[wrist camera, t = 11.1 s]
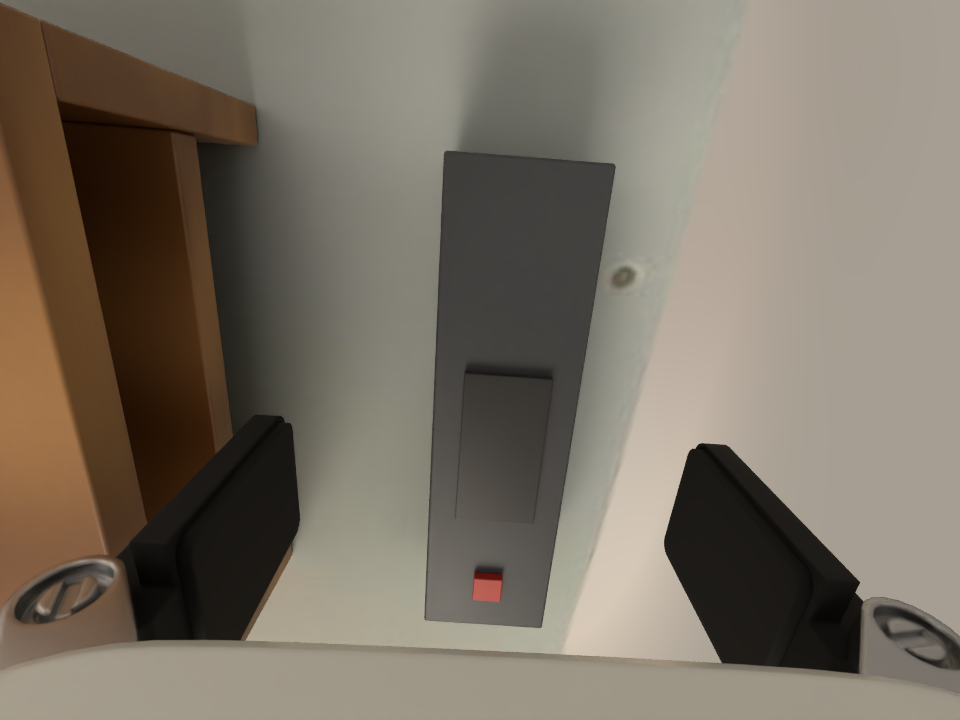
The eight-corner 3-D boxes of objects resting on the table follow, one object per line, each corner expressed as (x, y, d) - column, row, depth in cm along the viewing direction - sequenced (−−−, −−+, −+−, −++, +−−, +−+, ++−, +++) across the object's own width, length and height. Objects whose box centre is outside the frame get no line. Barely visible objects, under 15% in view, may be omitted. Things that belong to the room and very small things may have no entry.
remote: (453, 161, 15) (443, 148, 11) (587, 171, 15) (620, 162, 11) (434, 550, 20) (423, 628, 16) (532, 557, 20) (542, 636, 16)
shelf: (-31, 81, 14) (-703, -71, 6) (255, 105, 14) (-39, -15, 6) (92, 540, 20) (-166, 764, 12) (292, 554, 20) (167, 785, 12)
